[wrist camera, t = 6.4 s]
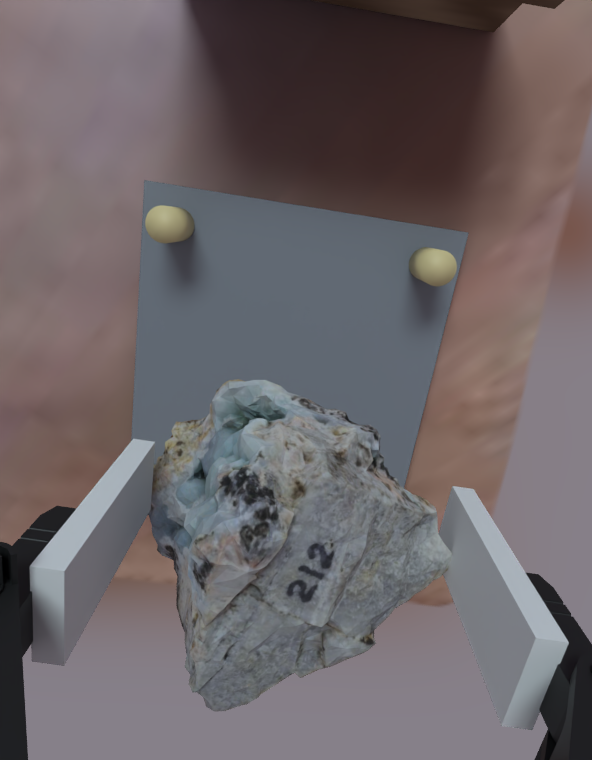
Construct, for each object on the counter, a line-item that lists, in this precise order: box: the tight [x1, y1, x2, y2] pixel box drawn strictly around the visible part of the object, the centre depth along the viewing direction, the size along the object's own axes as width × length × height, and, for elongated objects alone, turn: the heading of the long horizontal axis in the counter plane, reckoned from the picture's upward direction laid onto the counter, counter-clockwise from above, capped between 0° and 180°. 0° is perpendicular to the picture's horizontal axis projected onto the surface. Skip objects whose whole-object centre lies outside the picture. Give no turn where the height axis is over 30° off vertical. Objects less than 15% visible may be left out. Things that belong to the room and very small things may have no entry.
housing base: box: [131, 180, 468, 488], centre depth 29 cm, size 18×20×4 cm
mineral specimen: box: [148, 379, 452, 711], centre depth 17 cm, size 10×8×10 cm
